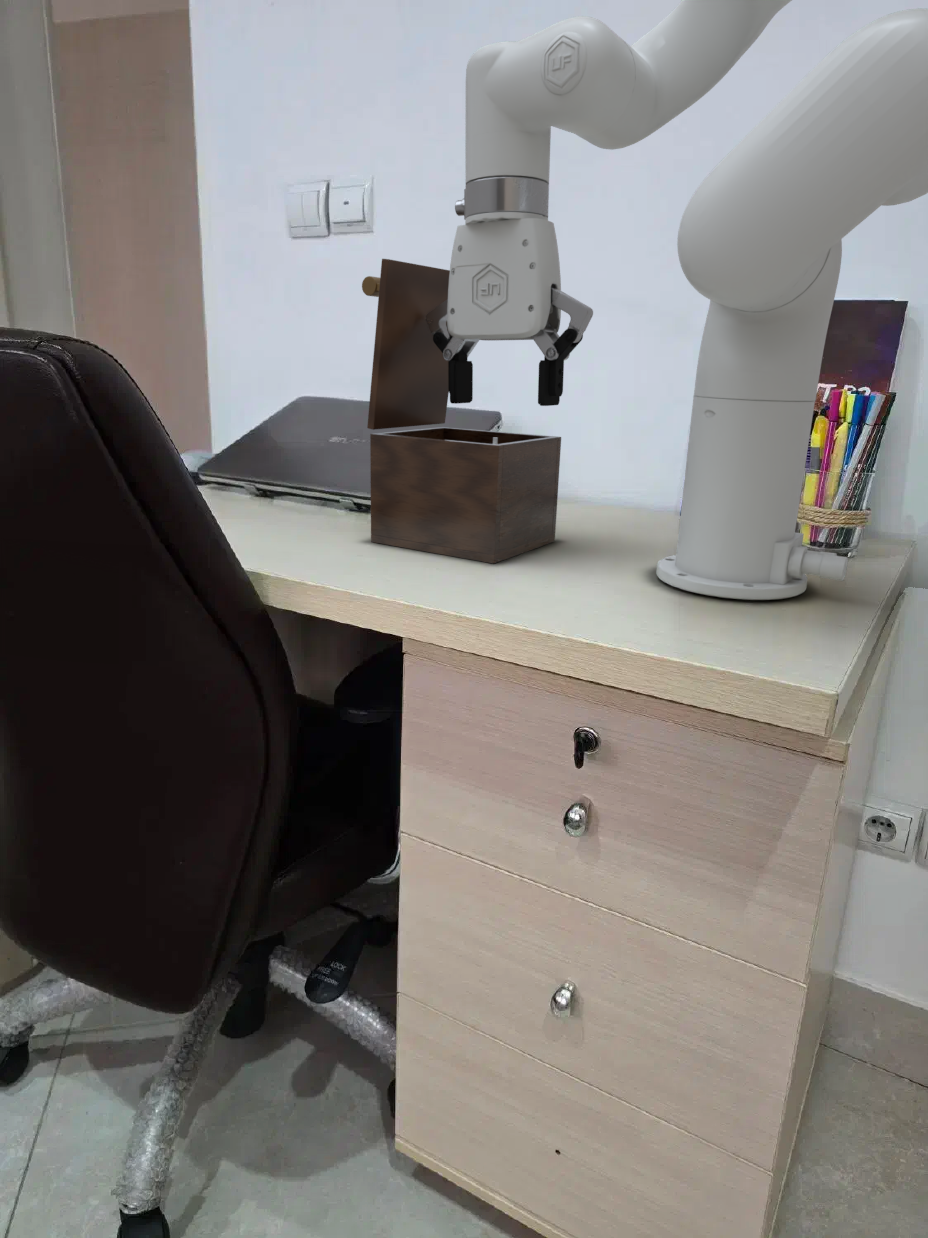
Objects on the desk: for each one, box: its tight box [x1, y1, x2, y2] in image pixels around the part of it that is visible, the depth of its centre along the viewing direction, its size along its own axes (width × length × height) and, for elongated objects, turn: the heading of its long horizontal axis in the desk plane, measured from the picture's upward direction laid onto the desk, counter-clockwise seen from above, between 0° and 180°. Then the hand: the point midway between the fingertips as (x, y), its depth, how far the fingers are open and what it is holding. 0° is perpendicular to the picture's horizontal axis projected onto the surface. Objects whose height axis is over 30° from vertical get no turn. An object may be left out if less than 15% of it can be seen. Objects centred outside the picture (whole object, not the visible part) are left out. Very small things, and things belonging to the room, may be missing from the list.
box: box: [369, 426, 562, 564], centre depth 84 cm, size 15×13×11 cm
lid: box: [361, 258, 453, 431], centre depth 84 cm, size 15×13×6 cm
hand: (503, 403), depth 80 cm, fingers open, 9 cm apart
